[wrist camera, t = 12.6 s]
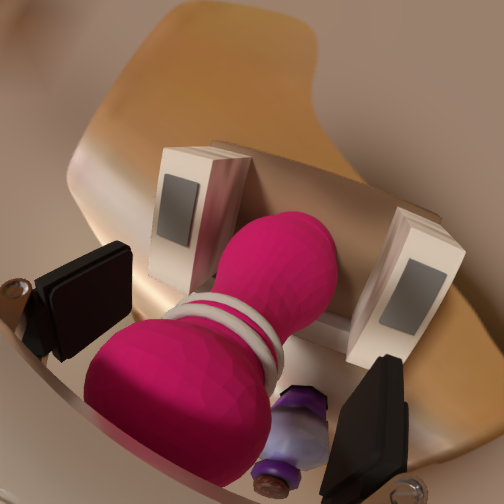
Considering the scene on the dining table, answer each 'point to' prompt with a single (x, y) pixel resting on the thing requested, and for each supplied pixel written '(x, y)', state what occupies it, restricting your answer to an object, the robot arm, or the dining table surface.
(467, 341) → the dining table surface
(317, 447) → the potion bottle
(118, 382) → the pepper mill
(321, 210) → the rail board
